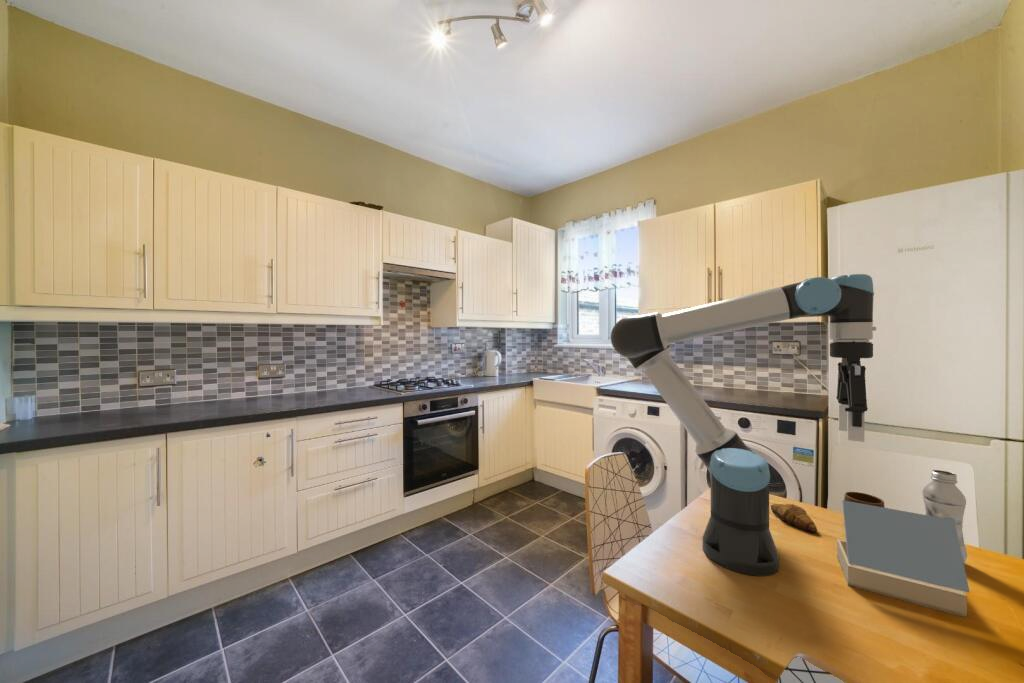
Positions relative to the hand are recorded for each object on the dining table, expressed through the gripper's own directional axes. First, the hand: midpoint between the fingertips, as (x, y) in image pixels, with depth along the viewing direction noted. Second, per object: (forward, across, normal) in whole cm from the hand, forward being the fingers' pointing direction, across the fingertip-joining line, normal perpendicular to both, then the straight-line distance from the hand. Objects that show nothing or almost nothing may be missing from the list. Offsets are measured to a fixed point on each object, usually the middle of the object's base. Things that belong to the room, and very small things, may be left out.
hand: (850, 435), depth 86 cm
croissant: (+28, +11, +10) cm, 32 cm away
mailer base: (+28, -10, -5) cm, 30 cm away
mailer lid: (+18, -13, -5) cm, 23 cm away
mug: (+28, +11, -6) cm, 31 cm away
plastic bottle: (+28, +7, -17) cm, 33 cm away
